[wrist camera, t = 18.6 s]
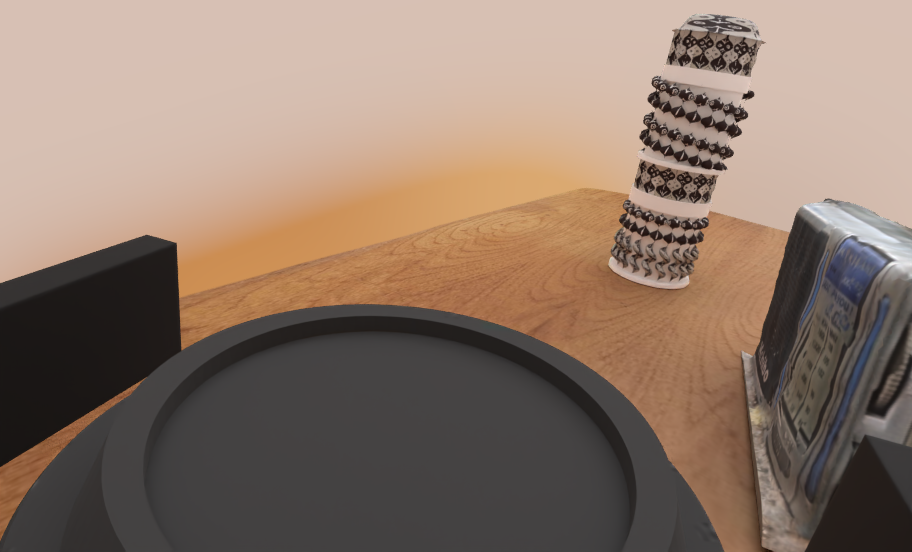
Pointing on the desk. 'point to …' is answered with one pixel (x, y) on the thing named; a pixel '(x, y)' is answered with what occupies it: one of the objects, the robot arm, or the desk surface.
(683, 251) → the white patterned cylinder
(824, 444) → the radio
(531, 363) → the coffee cup
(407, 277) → the desk surface
